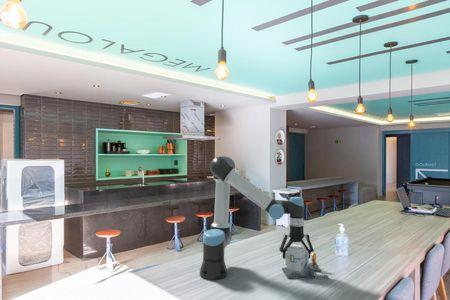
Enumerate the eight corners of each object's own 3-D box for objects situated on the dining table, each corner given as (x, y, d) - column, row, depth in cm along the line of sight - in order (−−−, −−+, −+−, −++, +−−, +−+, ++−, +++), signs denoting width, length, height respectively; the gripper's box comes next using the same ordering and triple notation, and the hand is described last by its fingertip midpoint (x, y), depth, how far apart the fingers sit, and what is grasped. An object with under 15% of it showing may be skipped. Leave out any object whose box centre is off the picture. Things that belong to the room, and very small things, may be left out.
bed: (287, 278, 164) (287, 269, 164) (281, 269, 177) (281, 260, 177) (313, 278, 165) (313, 269, 165) (306, 269, 178) (306, 260, 178)
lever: (311, 270, 175) (311, 254, 175) (309, 267, 179) (309, 252, 179) (318, 270, 176) (318, 254, 176) (315, 267, 180) (316, 252, 180)
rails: (315, 278, 164) (315, 275, 164) (305, 267, 180) (306, 265, 180) (328, 278, 165) (328, 275, 165) (318, 267, 181) (318, 265, 181)
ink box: (292, 263, 177) (292, 243, 177) (306, 267, 171) (307, 246, 172) (286, 268, 170) (286, 246, 170) (300, 271, 165) (300, 249, 165)
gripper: (276, 226, 167) (276, 266, 167) (320, 226, 168) (319, 266, 168) (274, 223, 174) (273, 262, 174) (315, 223, 176) (315, 261, 175)
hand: (296, 264), depth 171 cm, fingers closed on ink box, 11 cm apart
